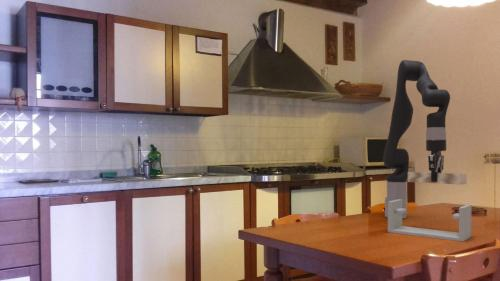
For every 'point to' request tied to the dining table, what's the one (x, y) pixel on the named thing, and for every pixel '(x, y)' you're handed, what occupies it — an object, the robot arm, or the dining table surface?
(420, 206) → the dining table surface
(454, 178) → the shelf board
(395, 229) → the grey c-shaped frame
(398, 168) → the robot arm
